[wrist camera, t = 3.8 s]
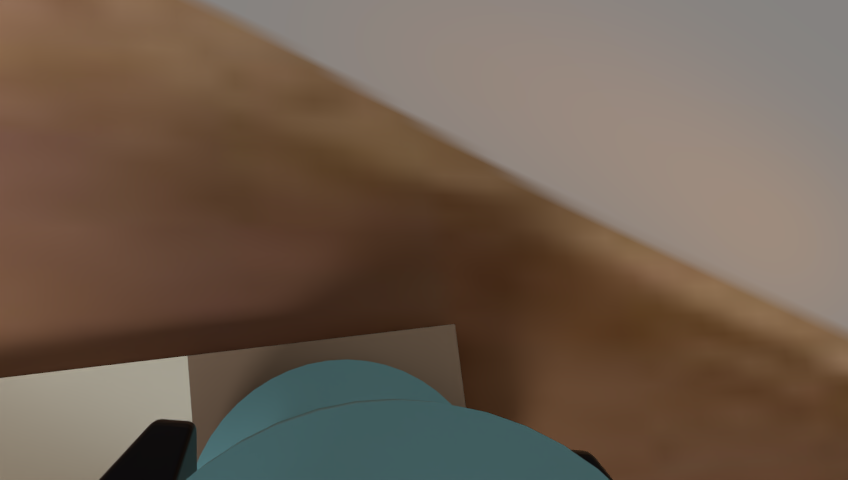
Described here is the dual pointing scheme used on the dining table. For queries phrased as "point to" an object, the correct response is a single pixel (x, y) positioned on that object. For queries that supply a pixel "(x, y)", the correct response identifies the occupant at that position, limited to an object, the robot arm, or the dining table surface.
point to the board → (180, 396)
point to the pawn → (374, 433)
